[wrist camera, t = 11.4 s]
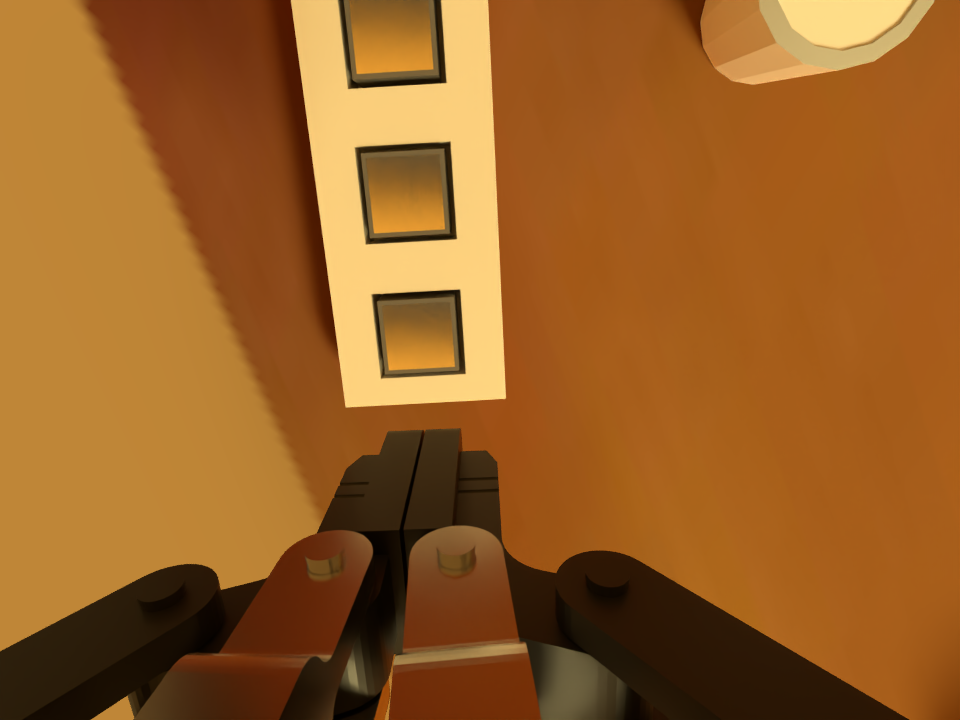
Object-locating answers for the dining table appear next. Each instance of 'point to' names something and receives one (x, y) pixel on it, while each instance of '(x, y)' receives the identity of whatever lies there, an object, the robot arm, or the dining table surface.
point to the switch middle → (407, 193)
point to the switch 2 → (419, 331)
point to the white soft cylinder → (802, 35)
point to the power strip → (406, 259)
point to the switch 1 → (393, 42)
